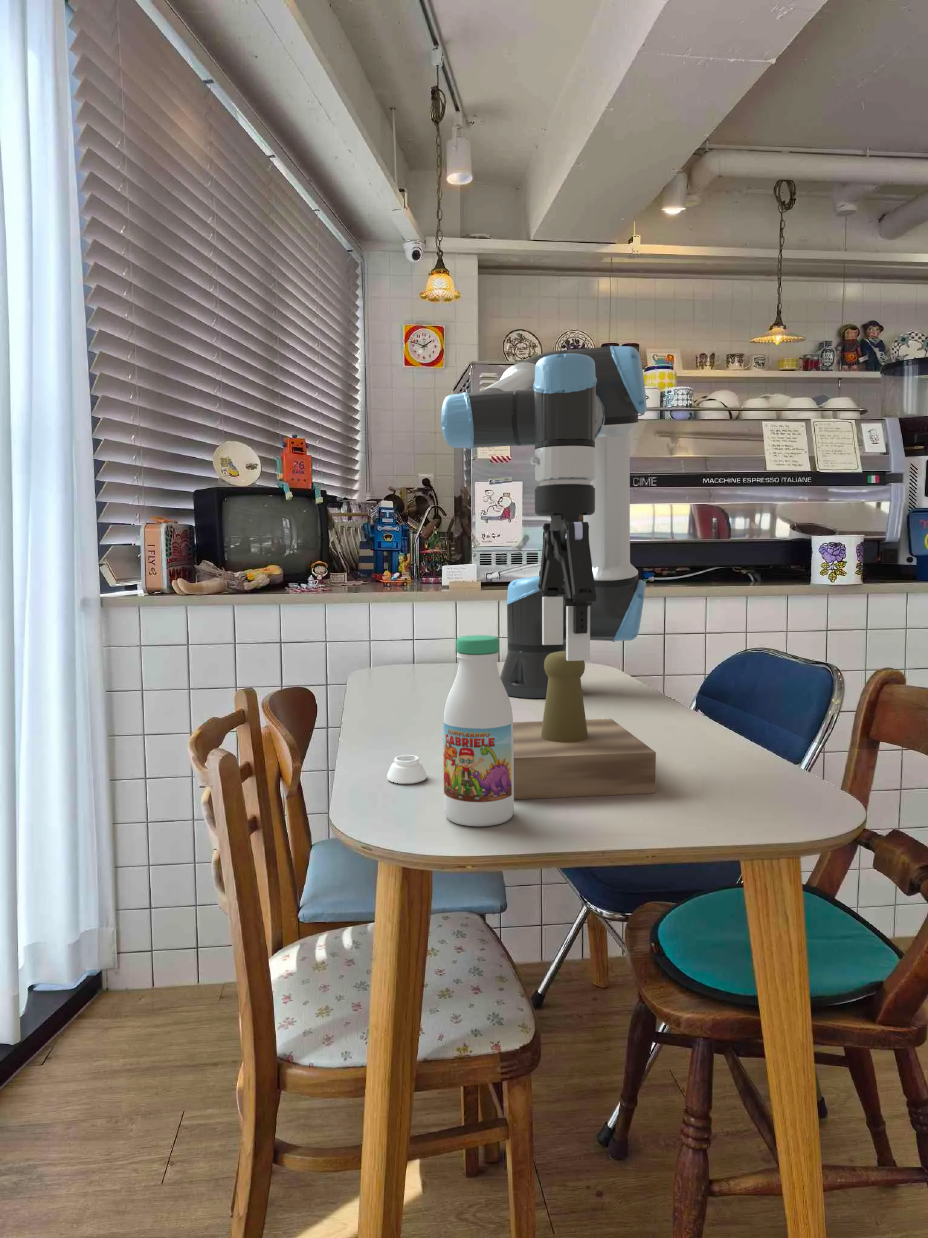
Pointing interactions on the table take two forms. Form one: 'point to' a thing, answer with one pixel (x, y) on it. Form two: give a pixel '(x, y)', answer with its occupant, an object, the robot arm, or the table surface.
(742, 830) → the table surface
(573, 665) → the olive pepper mill
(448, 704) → the milk bottle
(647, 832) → the table surface
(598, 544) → the robot arm
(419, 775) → the white jar
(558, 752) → the walnut riser
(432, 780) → the table surface
